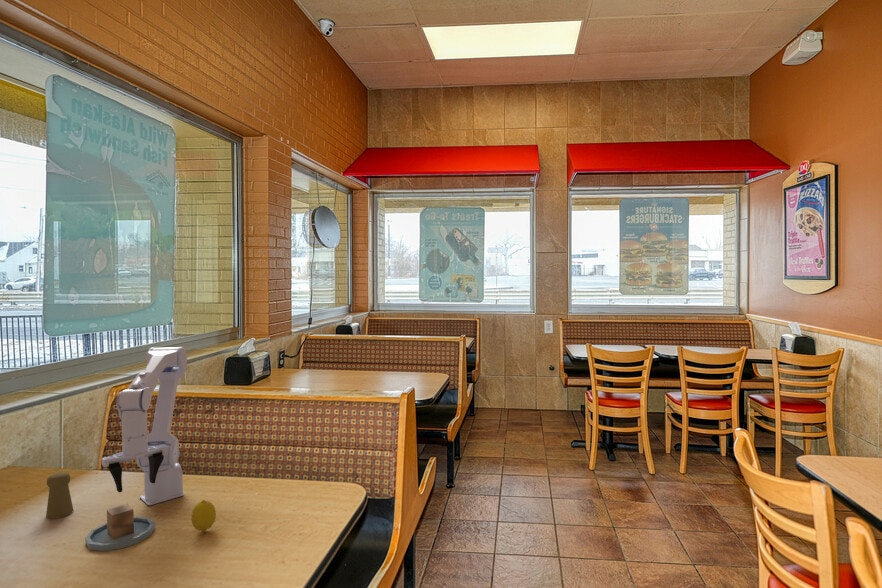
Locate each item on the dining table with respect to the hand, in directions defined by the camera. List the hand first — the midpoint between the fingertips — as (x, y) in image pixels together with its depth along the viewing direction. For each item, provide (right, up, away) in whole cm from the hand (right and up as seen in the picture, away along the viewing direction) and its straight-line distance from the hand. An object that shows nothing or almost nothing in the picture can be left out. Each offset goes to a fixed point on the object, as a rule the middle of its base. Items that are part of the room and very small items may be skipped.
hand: (136, 486), depth 134 cm
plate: (0, -10, -7) cm, 12 cm away
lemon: (+20, -10, -5) cm, 23 cm away
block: (0, -9, -7) cm, 11 cm away
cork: (-24, -10, +6) cm, 26 cm away
